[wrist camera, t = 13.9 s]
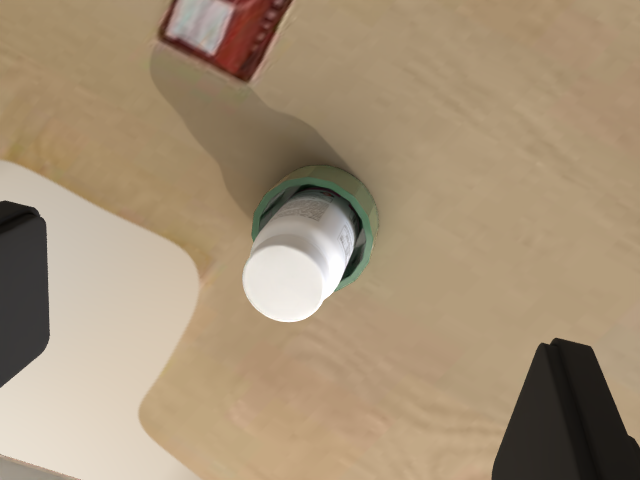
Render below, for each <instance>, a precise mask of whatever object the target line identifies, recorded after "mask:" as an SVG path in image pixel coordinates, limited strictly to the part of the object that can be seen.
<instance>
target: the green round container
mask: <svg viewBox="0 0 640 480" xmlns="http://www.w3.org/2000/svg"><path fill="white" fill-rule="evenodd" d="M310 187H325V188H329V189H332V190H333V191H335V192H336V193H338V194H339V195H341V196H342V197H344V198H345V199H347V200H348V201H349V202H350V203H351V205H352V206H353V208H354V209H355V211H356V213H357V216H358V220H359V234H358V239H357V242H356V244H355V247H354V249H353V252H352V254H351V257H350V259H349V261H348V264H347V266H346V268H345V271H344V273H343V275H342V278H341V280H340V282H339V284H338V286H337V287H336V289H335V290H334V291H333V292H335V291H338V290H340V289H341V288H343V287H345V286H347V285H348V284H350V283H352V282H354V281H355V280H356V279H357V278H358V277H359V275H360V274H361V273H362V271H363V270H364V268H365V267H366V266H367V264H368V263H369V260H370V258H371V255H372V252H373V249H374V246H375V242H376V237H377V234H378V227H379V218H378V212H377V208H376V204H375V202H374V200H373V198H372V196H371V194H370V193H369V191H368V190H367V188H366V187H365V186H364V185H363V184H362V183H361V182H360V181H359V180H358V179H357V178H355V177H354V176H353V175H351V174H350V173H348V172H346V171H344V170H342V169H339V168H336V167H332V166H326V165H312V166H306V167H302V168H300V169H297V170H295V171H293V172H291V173H290V174H288V175H287V176H286V177H284V178H283V179H282V180H280V181H279V182H278V183H277V184H276V185H274V186H273V187H272V188H271V189H270V190H269V191H268V192H267V193H266V194H265V195H264V197H263V199H262V200H261V202H260V204H259V205H258V207H257V209H256V210H255V212H254V217H253V225H252V234H251V235H252V239H253V243H254V241H255V239H256V237H257V236H258V234H259V233H260V231H261V230H262V229H263V228H264V227H265V225H266V224H267V223H268V222H269V221H270V220H271V218H272V217H273V216H274V215H275V214H276V213H277V212H278V211H279V209H280V208H281V207H282V206H283V205H284V204H285V203H286V202H287V201H288V199H289V198H291V197H292V196H293V195H294V194H296V193H297V192H299V191H301V190H303V189H306V188H310Z"/></svg>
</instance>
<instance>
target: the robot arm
mask: <svg viewBox="0 0 640 480" xmlns="http://www.w3.org/2000/svg"><path fill="white" fill-rule="evenodd" d="M46 236H47V233H46V222H45V220H44V219H43V218H42V217H40V215H39V212H38V211H37V210H36V209H35V208H34V207H29V206H25V205H21V204H17V203H13V202H9V201H1V202H0V388H1V387H2V386H3V385H4V384H5V383H7V382H8V381H9V380H10V379H11V378H13V377H14V376H15V375H16V374H17V373H19V372H20V371H21V370H22V369H23V368H24V367H26V366H27V365H28V364H29V363H30V362H32V361H33V360H34V359H35V358H37V357H38V356H39V355H40V354H41V353H42V352H43V351H44V350H45V348H46V346H47V344H48V341H49V336H50V332H49V331H50V330H49V297H48V266H47V237H46ZM0 480H81V479H77V478H74V477H71V476H68V475H64V474H61V473H58V472H55V471H52V470H48V469H45V468H42V467H39V466H36V465H33V464H30V463H26V462H23V461H20V460H17V459H13V458H10V457H7V456H4V455H1V454H0ZM492 480H640V447H639V445H638V444H637V442H636V441H635V439H634V438H632V437H631V436H629V435H628V434H627V432H626V429H625V427H624V424H623V422H622V419H621V417H620V415H619V412H618V410H617V407H616V405H615V402H614V400H613V397H612V395H611V393H610V390H609V388H608V385H607V383H606V380H605V378H604V375H603V373H602V371H601V368H600V366H599V363H598V361H597V358H596V356H595V354H594V351H593V349H592V348H591V346H587V345H583V344H579V343H575V342H571V341H567V340H563V339H559V338H555V339H553V341H552V342H551V343H550V345H549V344H545V343H541V344H540V345H539V346H538V348H537V350H536V353H535V355H534V358H533V361H532V363H531V366H530V369H529V371H528V374H527V377H526V379H525V382H524V385H523V387H522V390H521V392H520V395H519V398H518V400H517V403H516V406H515V408H514V411H513V414H512V416H511V419H510V421H509V424H508V427H507V429H506V432H505V435H504V437H503V440H502V443H501V445H500V448H499V450H498V453H497V456H496V458H495V461H494V465H493V470H492Z"/></svg>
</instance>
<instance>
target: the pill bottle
mask: <svg viewBox="0 0 640 480" xmlns="http://www.w3.org/2000/svg"><path fill="white" fill-rule="evenodd" d="M358 234H359V220H358V216H357V213H356V211H355V209H354V208H353V206H352V205H351V203H350V202H349V201H348V200H347V199H345V198H344V197H342V196H341V195H339V194H338V193H336V192H335V191H333V190H332V189H329V188H325V187H310V188H306V189H303V190H301V191H299V192H297V193H296V194H294V195H293V196H292V197H291V198H289V199H288V201H287V202H286V203H285V204H284V205H283V206H282V207H281V208H280V209H279V211H278V212H277V213H276V214H275V215H274V216H273V217H272V218H271V220H270V221H269V222H268V223H267V224H266V225H265V227H264V228H263V229H262V230H261V231H260V233H259V234H258V236H257V237H256V239H255V241H254V243H253V246H252V249H251V255H250V257H249V258H248V260H247V262H246V264H245V266H244V269H243V276H242V281H243V287H244V291H245V293H246V296H247V298H248V299H249V301H250V302H251V304H252V305H253V306H254V307H255V308H256V309H257V310H258V311H259V312H261V313H262V314H264V315H265V316H267V317H269V318H271V319H274V320H277V321H283V322H295V321H299V320H303V319H305V318H307V317H309V316H310V315H312V314H313V313H314V312H315V311H316V310H317V309H318V308H319V307H320V305H321V303H322V301H323V300H324V299H326V298H327V297H328V296H329V295H331V293H332V292H333V291H334V290H335V289H336V287H337V286H338V284H339V282H340V280H341V278H342V275H343V273H344V271H345V268H346V266H347V264H348V261H349V259H350V257H351V254H352V252H353V249H354V247H355V244H356V242H357V239H358Z"/></svg>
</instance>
